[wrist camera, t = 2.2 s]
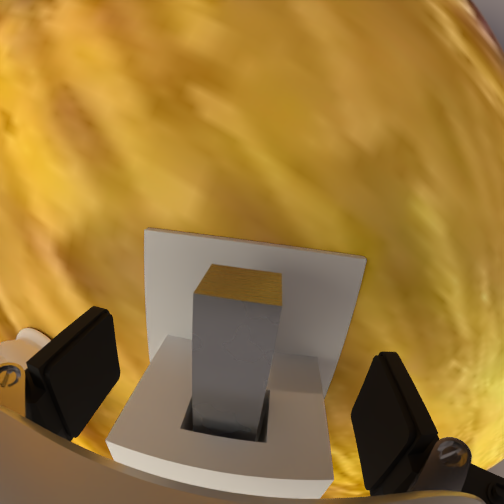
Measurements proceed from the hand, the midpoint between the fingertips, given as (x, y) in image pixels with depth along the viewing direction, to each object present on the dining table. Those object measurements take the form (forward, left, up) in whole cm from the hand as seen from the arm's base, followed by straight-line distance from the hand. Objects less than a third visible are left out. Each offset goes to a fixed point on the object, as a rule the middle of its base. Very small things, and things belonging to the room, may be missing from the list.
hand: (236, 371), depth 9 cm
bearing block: (+8, 0, -9) cm, 11 cm away
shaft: (+8, 0, -4) cm, 9 cm away
